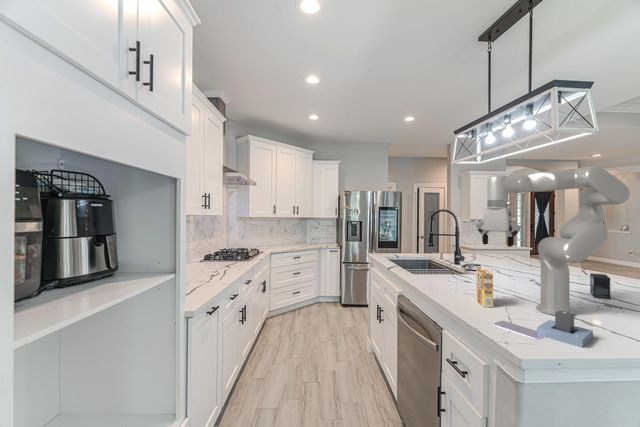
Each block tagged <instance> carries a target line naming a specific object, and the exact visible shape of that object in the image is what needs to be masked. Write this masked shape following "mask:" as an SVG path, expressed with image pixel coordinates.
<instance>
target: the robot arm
mask: <svg viewBox="0 0 640 427" xmlns="http://www.w3.org/2000/svg"><path fill="white" fill-rule="evenodd" d="M486 188H487V189H486V190H487V192H486V193H487V194H486V198H487V200H486V201H487V202H486V203H487V204H486V206H487V207H486V208H485V210H484V216H483V221H481V222H479V223H477V224H476V225H475V227H476V229H477V231H478V232H479V233H480V235H481V237H482V238H481V240H482V244H483V245H488V244H489V235H488V233H489V232H496V233H497V232H498V233H499V232H500V233H505V234H506V235H507V239H506V241H507V242H506V244H507V247H509V248H510V247H513V245H514V243H515V240H514V237H515V236H517V235H518V234H519V232H520V231H521V229H522V226H521V225H519V224H517V223H515V222H513V215H512V210H511V208H510V207H509V206H513V203H512V201H509V194H519V193H531V192H538V193H539V192H540V193H541V192H543V193H544V192H553V191H563V190H564V191H565V190H575V189H582V190H581V192H580V193H579V200H580V210H579V211H578V212H577V213H576V214H575V215H574V216H573V217H572V218H571V219H569V220H568V221H567V222H566V223H565V224H563V226H562V227H560V229H559V236H560V237H556V236H549V237H545V238H543V239H541V240H540V241H539V243H538V246H537V252H538V256H539V261H540V262H539V263H540V304H537V305H536V306H535V309H536V310H537V311H539V312H541V313H543V314H547V315H552V316H555V312H557V311H559V310H561V311H566V312H570V313H574V314H575V311H574V310H572V309H570V268H569V265H568V263H569V264H579V263H581V262H583V261H585V260H586V259H588V258H589V257H590V256H591V255H592V254H594V253H595V252H596V251H597V250H598V249H599V248H600V247H602V246H603V245H604V244H605V243H606V241H607V239H608V236H609V231H608V228H607V227H606V225H604V223H603V222H604V220H605V213H604V207H603V206H607V205H610V206H612V205H613V206H615V205H621V204H624V203H626V202H627V201H628V200H629V199H630V196H631V192H630V188H629V187H628V186H627V184H626V183H624V182H623V181H621V180H620V179H619V178H617V177H616V176H614V175H613V174H612V173H611V172H609V171H607V170H606V169H604V168H602V167H600V166H597V165H588V166H584V167H577V168H575V167H574V168H569V169H568V168H567V169H555V170H546V171H540V172H536V173H530V174H522V173H521V174H512V175H505V174H504V175H502V174H500V175H499V174H498V175H490V176H488V177H487V186H486ZM482 226H483V228H482ZM514 228H515V229H514Z"/></svg>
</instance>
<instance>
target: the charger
mask: <svg viewBox="0 0 640 427" xmlns="http://www.w3.org/2000/svg"><path fill="white" fill-rule="evenodd" d="M554 317H555V319H554V321H555V329H556V330H560V331H564V332H568V333H571V334H574V326H575V312H574V313H570V312H566V311H561V310H559V311H557V312H555V315H554Z"/></svg>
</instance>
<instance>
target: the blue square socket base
mask: <svg viewBox="0 0 640 427" xmlns="http://www.w3.org/2000/svg"><path fill="white" fill-rule="evenodd" d="M536 331H537V333H538V334H542V335H544V336H545V337H544V338H548V339H552V340H555V341H558V342H562V343H566V344H569V345H573V346H576V347H579V348H584V347H585V346H586V345H587V344H588V343H589V342H590V341H591V340H593V338H594V330H592V329H589V328H584V327H580V326H577V325H574V334H571V333H568V332H564V331H560V330H556V329H555V320H552V319H548V320H547V321H545V322H543V323H541V324H540V325H538V326H536Z"/></svg>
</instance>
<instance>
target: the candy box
mask: <svg viewBox="0 0 640 427" xmlns="http://www.w3.org/2000/svg"><path fill="white" fill-rule="evenodd" d="M476 301H477V303H478V304H479V305H481V306H482V307H484V308H494V274H493V272H492V271H489V270H488V269H482V268H481V269H476Z"/></svg>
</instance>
